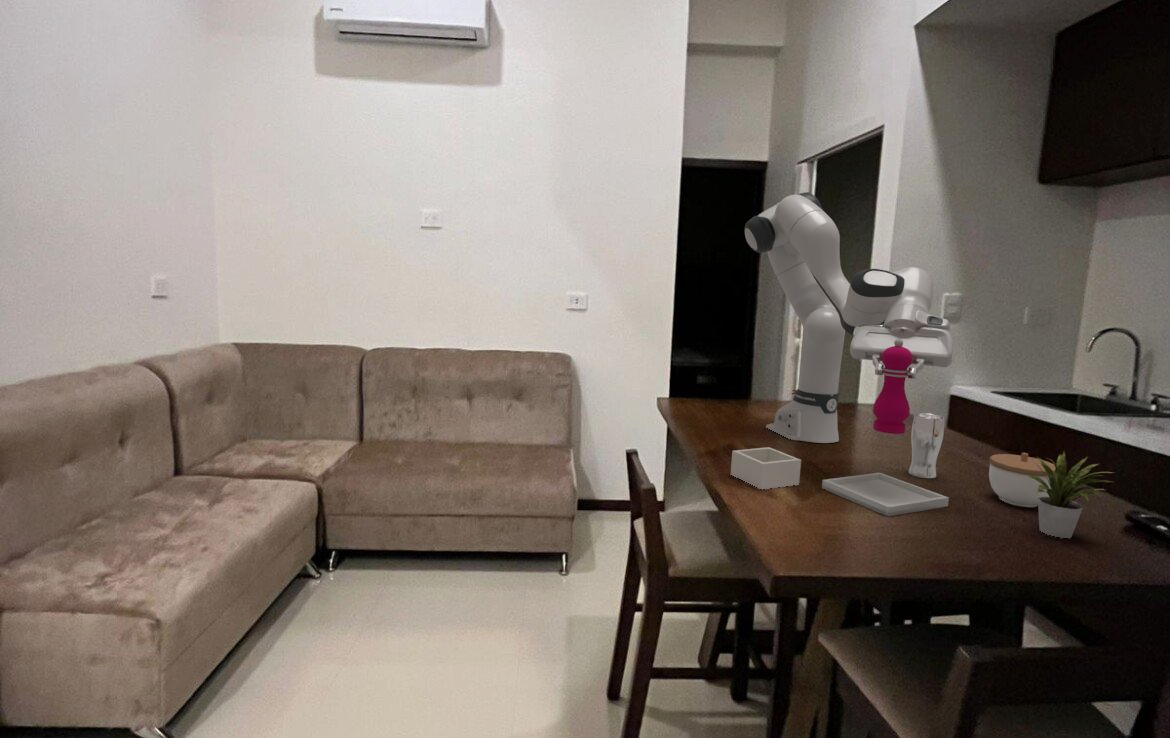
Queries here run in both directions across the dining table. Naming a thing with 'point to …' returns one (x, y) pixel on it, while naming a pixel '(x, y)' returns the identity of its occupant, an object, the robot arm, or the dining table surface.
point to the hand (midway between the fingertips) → (894, 375)
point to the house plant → (1063, 497)
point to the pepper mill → (893, 391)
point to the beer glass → (926, 444)
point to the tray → (885, 494)
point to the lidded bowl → (1017, 478)
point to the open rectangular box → (765, 468)
